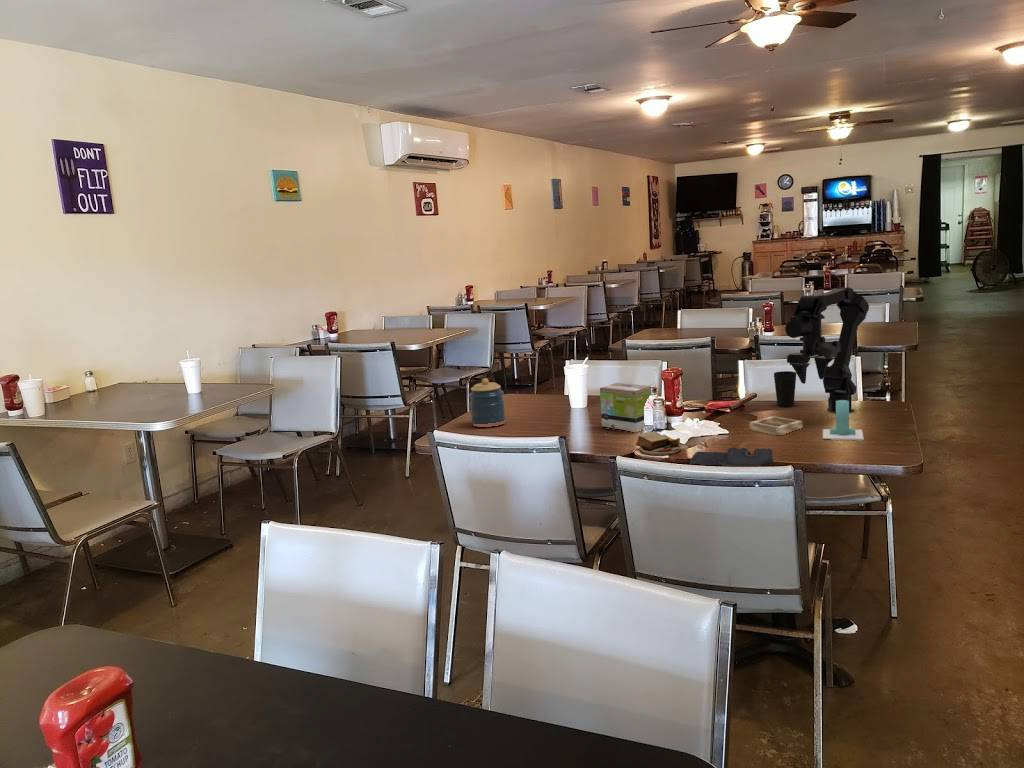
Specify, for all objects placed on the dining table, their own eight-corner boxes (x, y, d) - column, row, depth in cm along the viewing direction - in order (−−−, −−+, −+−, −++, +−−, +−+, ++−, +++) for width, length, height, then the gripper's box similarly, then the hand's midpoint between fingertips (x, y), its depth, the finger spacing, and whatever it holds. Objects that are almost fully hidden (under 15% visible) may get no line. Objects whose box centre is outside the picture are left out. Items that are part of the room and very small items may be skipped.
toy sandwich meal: (654, 459, 219) (653, 443, 218) (630, 449, 232) (629, 434, 231) (690, 452, 224) (689, 436, 223) (664, 442, 236) (664, 428, 235)
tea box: (601, 428, 260) (598, 387, 258) (618, 422, 267) (616, 382, 265) (636, 433, 250) (634, 390, 247) (654, 427, 256) (652, 384, 254)
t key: (829, 432, 230) (829, 400, 228) (855, 432, 227) (854, 400, 225) (830, 435, 226) (829, 402, 225) (855, 435, 224) (855, 402, 222)
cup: (793, 402, 276) (793, 370, 274) (799, 407, 268) (798, 374, 266) (772, 404, 276) (771, 372, 274) (777, 408, 269) (776, 375, 267)
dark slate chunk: (695, 457, 218) (694, 441, 217) (775, 460, 210) (774, 443, 209) (685, 473, 204) (685, 456, 204) (771, 476, 196) (770, 458, 195)
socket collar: (772, 423, 248) (772, 416, 248) (802, 428, 239) (802, 421, 238) (749, 430, 242) (749, 422, 242) (779, 435, 233) (779, 427, 232)
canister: (484, 430, 272) (480, 382, 269) (465, 425, 282) (460, 379, 279) (513, 423, 279) (509, 376, 276) (493, 419, 290) (489, 374, 287)
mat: (822, 430, 234) (822, 429, 234) (861, 431, 230) (861, 429, 230) (822, 439, 224) (822, 438, 224) (863, 440, 220) (863, 438, 220)
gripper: (815, 338, 232) (816, 388, 235) (852, 331, 242) (852, 379, 244) (785, 337, 241) (786, 384, 244) (821, 330, 251) (821, 376, 254)
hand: (812, 381), depth 246 cm, fingers open, 9 cm apart
